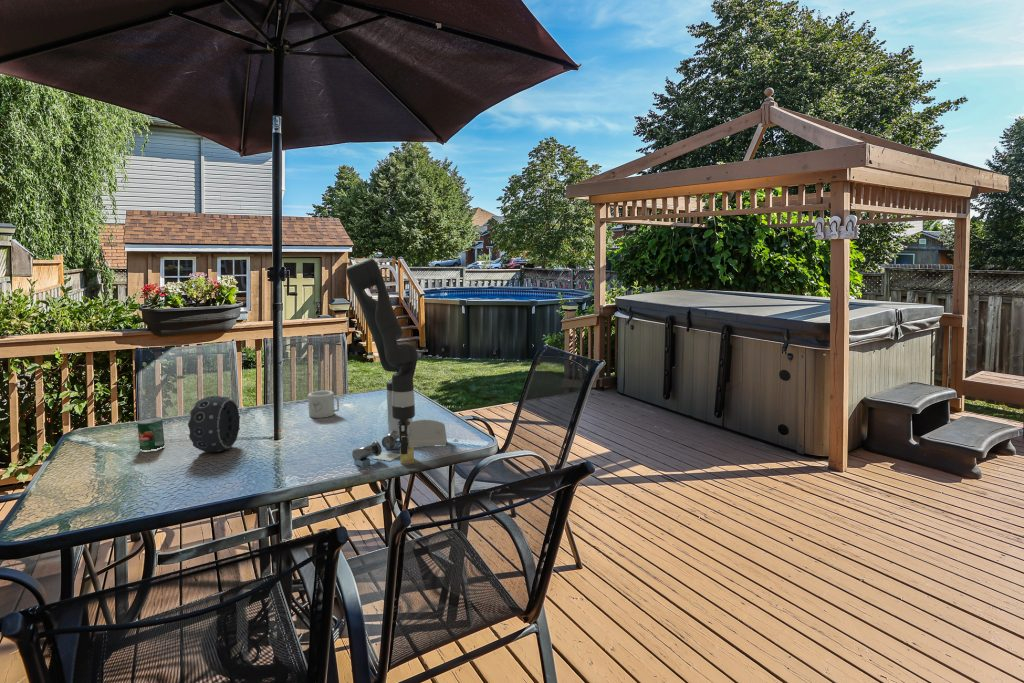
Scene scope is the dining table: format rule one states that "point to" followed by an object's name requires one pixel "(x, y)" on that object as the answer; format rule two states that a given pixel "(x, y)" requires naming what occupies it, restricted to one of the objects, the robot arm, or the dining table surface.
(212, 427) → the dark grey drum piece
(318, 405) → the mug
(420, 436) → the grey rounded block
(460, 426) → the dining table surface
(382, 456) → the plate
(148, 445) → the canned tomato
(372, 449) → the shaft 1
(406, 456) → the block
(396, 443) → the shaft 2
